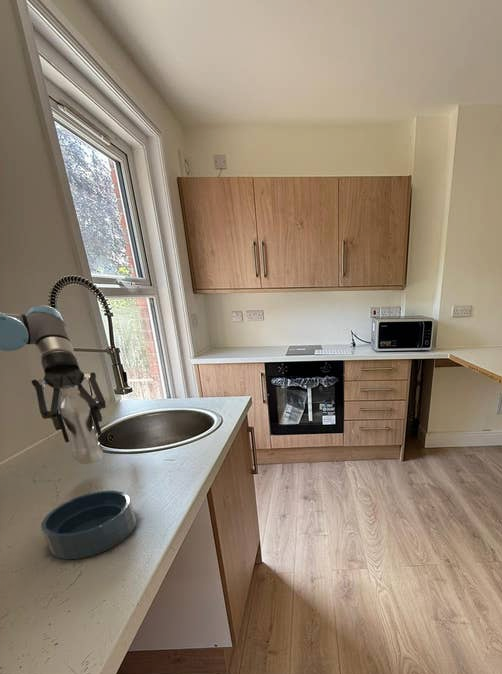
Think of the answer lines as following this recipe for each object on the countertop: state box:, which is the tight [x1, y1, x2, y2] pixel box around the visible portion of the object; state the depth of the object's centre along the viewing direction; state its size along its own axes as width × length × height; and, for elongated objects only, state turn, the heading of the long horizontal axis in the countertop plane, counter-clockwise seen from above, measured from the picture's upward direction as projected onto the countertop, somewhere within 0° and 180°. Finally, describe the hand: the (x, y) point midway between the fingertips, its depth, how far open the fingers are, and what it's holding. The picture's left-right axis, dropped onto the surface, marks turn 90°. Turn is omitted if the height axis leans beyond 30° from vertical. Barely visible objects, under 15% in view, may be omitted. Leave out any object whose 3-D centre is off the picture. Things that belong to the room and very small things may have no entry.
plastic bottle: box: [59, 385, 104, 465], centre depth 87 cm, size 6×7×20 cm
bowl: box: [40, 489, 137, 560], centre depth 68 cm, size 14×14×6 cm
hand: (83, 435), depth 85 cm, fingers closed on plastic bottle, 6 cm apart
